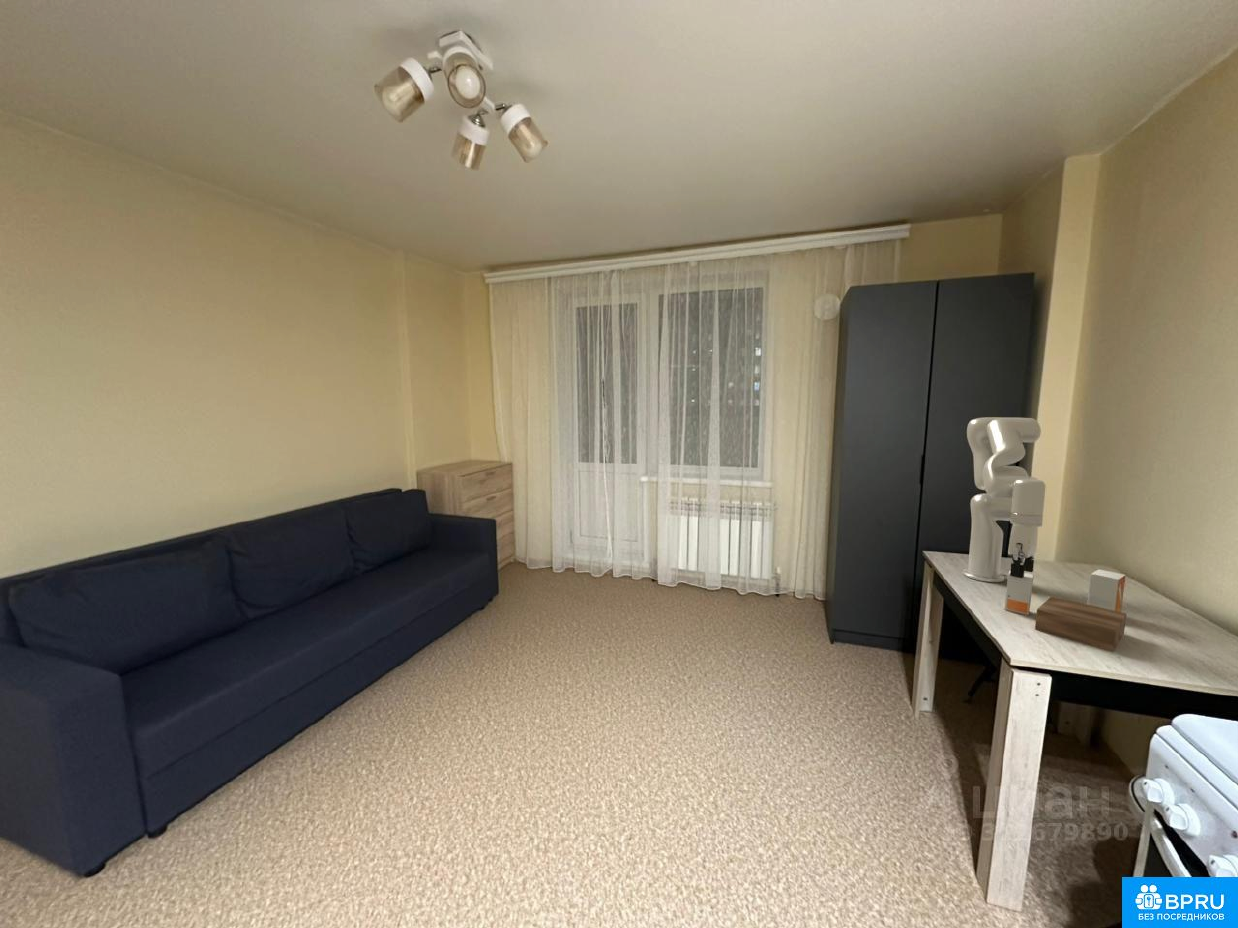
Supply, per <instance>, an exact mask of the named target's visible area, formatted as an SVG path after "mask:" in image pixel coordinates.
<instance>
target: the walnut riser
mask: <svg viewBox="0 0 1238 928" xmlns="http://www.w3.org/2000/svg"><path fill="white" fill-rule="evenodd" d="M1126 620H1127V613H1126V612H1125V613H1124V612H1122V611H1121V612H1117V611H1113V610H1108V609H1104V608H1100V607H1096V606H1091V605H1087V603H1082V602H1078V601H1074V600H1069V599H1065V598H1062V597H1061V598H1060V597H1058V596H1052V595H1051V596H1050V597H1049V598H1048V599H1047V600H1045V602H1043V603H1042V604H1040V606H1039V607H1038V608H1037V609H1036V615H1035V625H1034V630H1036V631H1040V632H1043V633H1046V634H1050V635H1054V636H1058V637H1060V638H1063V639H1067V640H1068V639H1069V640H1072V641H1074V642H1075V641H1076V642H1078V643H1082V644H1086V645H1089V646H1093V647H1097V648H1100V649H1103V650H1107V651H1110V652H1114V651H1115V650H1116V648H1117V646H1118V644H1119V643H1120V641H1121V640H1122V638H1123V636H1124V634H1125V628H1126Z"/></svg>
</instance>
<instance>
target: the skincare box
mask: <svg viewBox="0 0 1238 928" xmlns="http://www.w3.org/2000/svg"><path fill="white" fill-rule="evenodd" d="M1007 575H1008V576H1007V580H1006V581H1007V583H1006V591H1005V601H1004V610H1005V611H1009V612H1012V613H1013V612H1015V613H1019V614H1021V615H1022V614H1023V615H1026V616H1029V614H1030V610H1031V602H1032V592H1033V583H1034V576H1035V575H1034V574H1030V573H1027V572H1024V578H1018V577H1013V576H1011V575H1010V570H1009V571H1008V574H1007Z"/></svg>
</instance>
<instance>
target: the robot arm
mask: <svg viewBox="0 0 1238 928" xmlns="http://www.w3.org/2000/svg"><path fill="white" fill-rule="evenodd" d="M966 428H967V429H966V436H967V442H968V445H969V447H970V449H971V452H972V456H973V477H974V480H973V481H974V485H975V487H976V488H977V489H979V490H982V491H985V492H986V493H979V494H976V495H975V494H974V496H972V498H971V499H970V513H971V515H970V517H971V529H970V530H971V532H970V541H969V543H970V544H969V554H968V555H969V556H968V566H967V567H968V568H964V569H963V570H962V574H963V576H965V577H967V578H970V579H972V580H977V581H981V582H987V583H1002V582H1004V581H1005V578H1006V577H1005V576H1004V575H1003V574H1001V563H1002V552H1003V541H1004V531H1003V529H1002V528H1001V526H999V524H998V523H997V522H996V521H1004V522H1005V521H1007V522H1010V524H1012V527H1011V532H1010V537H1009V542H1008V543H1009V544H1008V551H1007V554H1008V556H1011V561H1010V570H1009V571H1010V575H1011V576H1013V577H1018V578H1024V573H1025V572H1026V573H1033V572H1034V564H1035V554H1036V552H1037V546H1038V531H1039V530H1038V528H1039V527H1042V526H1043V522H1044V521H1043V520H1044V519H1043V518H1044V507H1045V498H1046V497H1045V496H1046V483H1045V482H1044V481H1043V480H1039V479H1038V478H1037V477H1034V476H1029V474H1028V472H1027V470H1026V469H1025V468H1023V467H1021V466H1016V465H1013V464H1015V463H1017V462H1019V461H1020V462H1021V460H1022V459H1023V458H1024V457H1025V455H1026V448H1025V447H1024V444H1023V443H1036V441H1038V440H1039V438H1040V436H1041V433H1042V430H1041V429H1042V428H1041V425H1040V423H1039V422H1038V420H1036V419H1035V418H1032V417H1001V416H1000V417H995V416H994V417H991V416H990V417H989V416H987V417H977V418H973V419H971V420H970V421H969V423H968V424H967V427H966Z"/></svg>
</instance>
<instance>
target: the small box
mask: <svg viewBox="0 0 1238 928" xmlns="http://www.w3.org/2000/svg"><path fill="white" fill-rule="evenodd" d="M1126 576H1127V575H1126V574H1123V573H1118V572H1113V571H1109V570H1103V569H1099V568H1098V569H1097V570H1095V571H1093V572H1092V573H1091V574H1090V578H1089V586H1088V595H1087V602H1086V604H1087V605H1091V606H1096V607H1100V608H1104V609H1108V610H1113V611H1117V612H1121V613H1122V607H1123V599H1124V591H1125V583H1126Z"/></svg>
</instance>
